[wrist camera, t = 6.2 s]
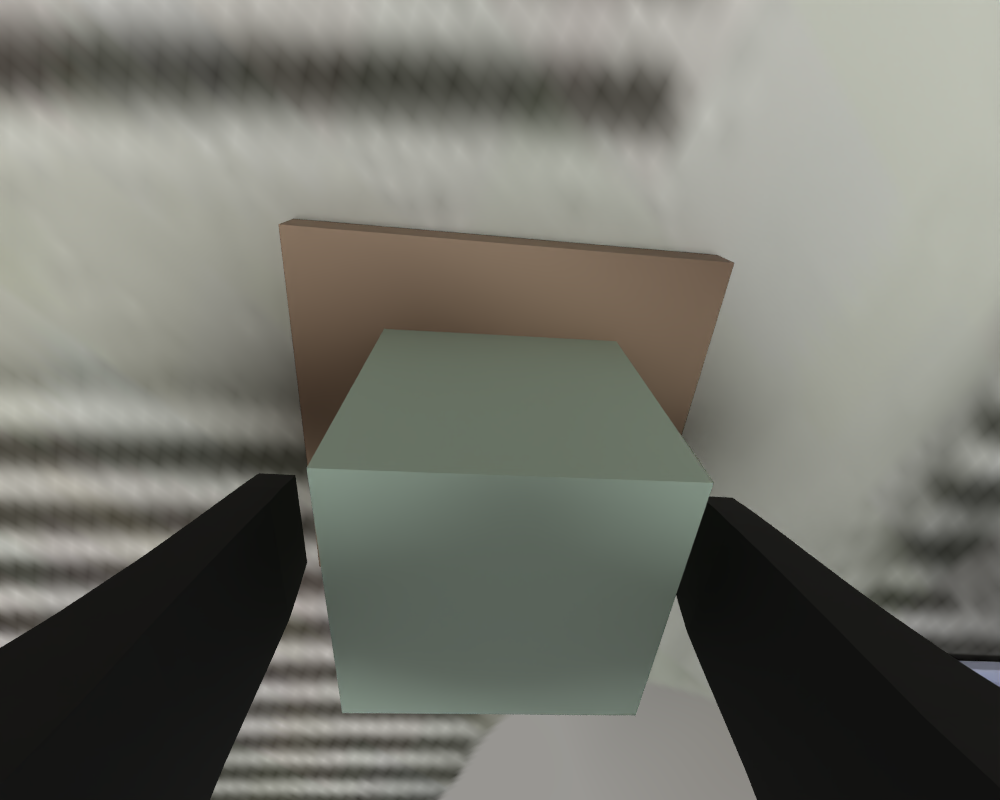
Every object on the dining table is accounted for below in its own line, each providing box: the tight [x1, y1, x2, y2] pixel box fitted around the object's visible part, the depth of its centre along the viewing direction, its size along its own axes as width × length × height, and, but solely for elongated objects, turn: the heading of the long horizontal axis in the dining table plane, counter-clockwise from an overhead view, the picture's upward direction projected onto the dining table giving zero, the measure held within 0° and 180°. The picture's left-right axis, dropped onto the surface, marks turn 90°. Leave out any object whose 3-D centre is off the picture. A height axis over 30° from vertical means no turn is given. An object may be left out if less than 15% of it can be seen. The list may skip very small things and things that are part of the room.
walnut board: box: [279, 219, 734, 567], centre depth 12 cm, size 9×9×1 cm
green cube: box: [307, 329, 713, 715], centre depth 9 cm, size 5×5×5 cm
